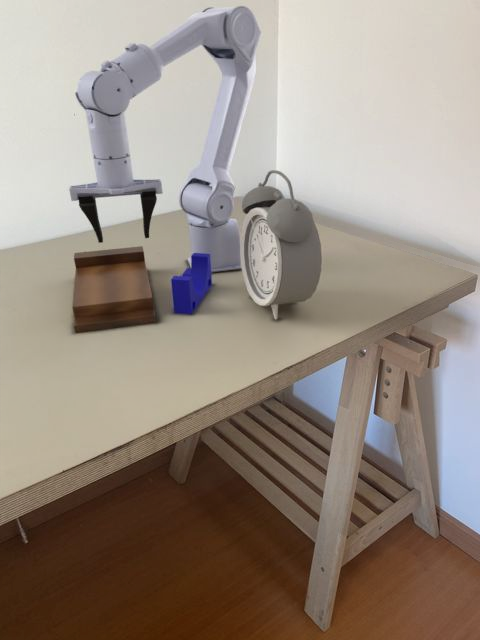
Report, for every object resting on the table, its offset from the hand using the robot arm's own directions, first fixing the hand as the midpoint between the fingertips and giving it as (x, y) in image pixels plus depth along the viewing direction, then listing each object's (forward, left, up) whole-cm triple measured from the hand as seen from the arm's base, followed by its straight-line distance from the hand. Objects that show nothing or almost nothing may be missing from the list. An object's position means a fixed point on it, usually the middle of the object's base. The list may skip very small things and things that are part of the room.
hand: (124, 238), depth 95 cm
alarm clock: (-24, +13, -10) cm, 29 cm away
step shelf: (+3, +2, -10) cm, 10 cm away
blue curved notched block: (-10, +6, -10) cm, 15 cm away
